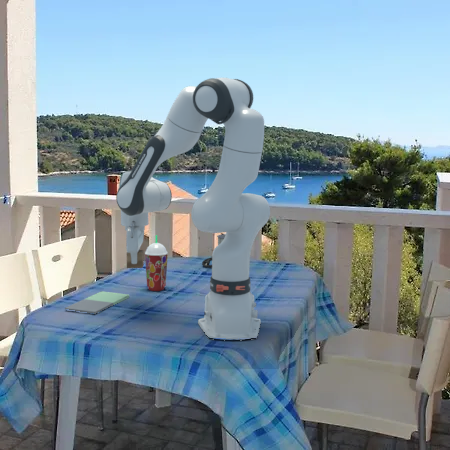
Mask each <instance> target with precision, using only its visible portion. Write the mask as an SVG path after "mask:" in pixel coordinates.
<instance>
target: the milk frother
mask: <svg viewBox="0 0 450 450" xmlns="http://www.w3.org/2000/svg"><path fill="white" fill-rule="evenodd" d="M225 235H226V233H225V234H223V233H222V234H218V235H217V236H216V237H217V246H218V245H219V244H220V243H221V242H222V241H223V239H224V238H225ZM211 262H212V257H208V258H205V259H204V260H203V261H202V262H201V265H202V266H203V267H205V268H207V269H208V268H209V269H212V264H211Z"/></svg>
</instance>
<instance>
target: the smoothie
mask: <svg viewBox="0 0 450 450" xmlns="http://www.w3.org/2000/svg"><path fill="white" fill-rule="evenodd" d="M154 237H155V239H154V240H155V241H154V242H153V243H151V244H149V245H148V246H147V247H146V249H145V251H144V258H145V259H144V263H145V276H146V286H147V289H148V290H149V291H151V292H160V291H163V290H165V287H166V285H167V272H168V271H167V270H168V257H169V256H168V255H169V252H168V251H167V249H166V247H165V245H164V244H162V243H160V242H158V234H156V235H154Z"/></svg>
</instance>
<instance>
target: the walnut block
mask: <svg viewBox="0 0 450 450" xmlns="http://www.w3.org/2000/svg"><path fill="white" fill-rule="evenodd" d="M144 258H145V252H144V250H143V249H140V250H139V251H138V252H137V264H132V263H131V253H128V252H127V251H126V269H143V267H144V263H145V259H144Z"/></svg>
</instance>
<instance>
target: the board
mask: <svg viewBox="0 0 450 450" xmlns="http://www.w3.org/2000/svg"><path fill="white" fill-rule="evenodd" d="M129 298H130V294H126V293H119V292H111V291H110V292H109V291H99V292H97V293H95V294H92V295H91V296H88V297H86V298H83V299H81V300H80V301H77V302H75V303H73V304H71V305H69V306H66V307H65V308H64V310H65V309H69V310H75V311H80V312H87V313H94V314H96V313H98V312H100V311H102V310H104V309H106V308H108V307H110V306H112V307H114V306H115V304H116V305H118V304H119V303H121V302H123V301H125V300H127V299H129ZM117 303H118V304H117ZM113 305H114V306H113ZM110 308H111V307H110ZM108 309H109V308H108ZM106 310H107V309H106ZM104 311H105V310H104ZM102 312H103V311H102ZM100 313H101V312H100ZM98 314H99V313H98ZM96 315H97V314H96Z"/></svg>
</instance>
